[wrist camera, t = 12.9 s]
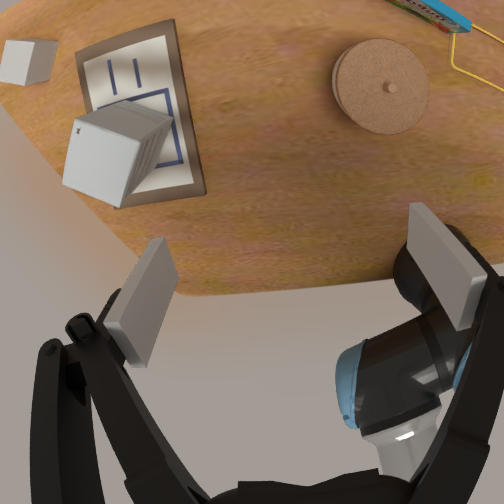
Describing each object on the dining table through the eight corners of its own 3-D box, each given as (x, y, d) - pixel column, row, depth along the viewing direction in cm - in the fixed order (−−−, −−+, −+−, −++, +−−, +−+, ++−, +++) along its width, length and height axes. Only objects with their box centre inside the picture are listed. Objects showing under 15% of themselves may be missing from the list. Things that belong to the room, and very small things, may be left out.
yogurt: (368, -7, 26) (385, -17, 21) (370, -16, 25) (388, -27, 20) (446, 33, 28) (471, 32, 22) (448, 25, 27) (473, 23, 22)
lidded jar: (413, 105, 34) (449, 118, 26) (345, 135, 37) (368, 154, 29) (380, 31, 29) (412, 25, 21) (307, 61, 32) (321, 59, 24)
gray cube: (31, 38, 28) (6, 39, 23) (60, 41, 29) (35, 41, 24) (22, 75, 31) (-3, 81, 26) (49, 80, 32) (24, 85, 27)
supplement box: (108, 149, 37) (58, 184, 27) (125, 98, 34) (73, 116, 23) (156, 168, 39) (119, 210, 28) (176, 117, 35) (140, 141, 25)
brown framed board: (206, 192, 42) (205, 196, 41) (117, 206, 44) (113, 210, 42) (174, 19, 29) (171, 18, 28) (78, 52, 31) (73, 52, 30)
